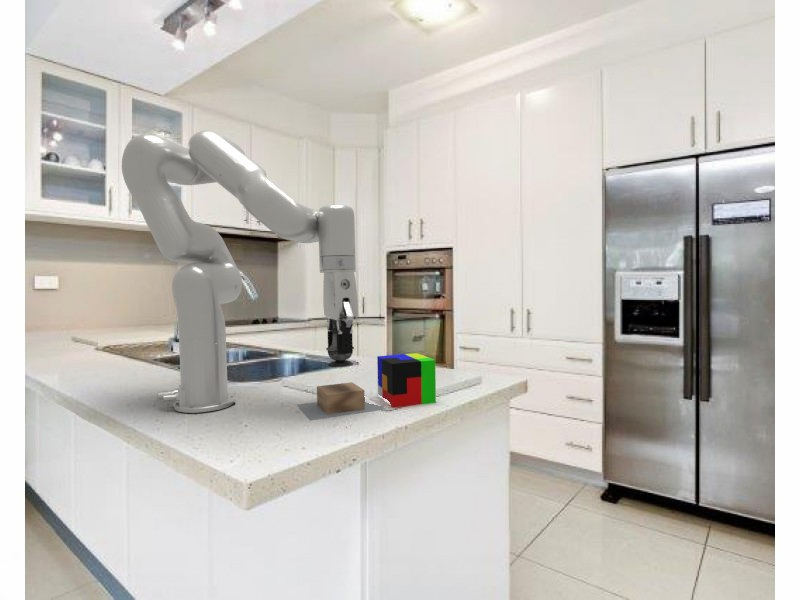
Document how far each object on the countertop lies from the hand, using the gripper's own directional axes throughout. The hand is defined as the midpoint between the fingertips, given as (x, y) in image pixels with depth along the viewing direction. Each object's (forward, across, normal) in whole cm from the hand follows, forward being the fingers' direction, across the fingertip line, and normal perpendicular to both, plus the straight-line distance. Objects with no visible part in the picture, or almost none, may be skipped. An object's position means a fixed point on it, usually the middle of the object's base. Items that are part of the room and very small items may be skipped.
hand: (340, 350), depth 95 cm
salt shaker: (+3, 0, 0) cm, 3 cm away
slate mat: (+13, 0, 0) cm, 13 cm away
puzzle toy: (+13, -1, -15) cm, 20 cm away
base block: (+12, 0, 0) cm, 12 cm away
